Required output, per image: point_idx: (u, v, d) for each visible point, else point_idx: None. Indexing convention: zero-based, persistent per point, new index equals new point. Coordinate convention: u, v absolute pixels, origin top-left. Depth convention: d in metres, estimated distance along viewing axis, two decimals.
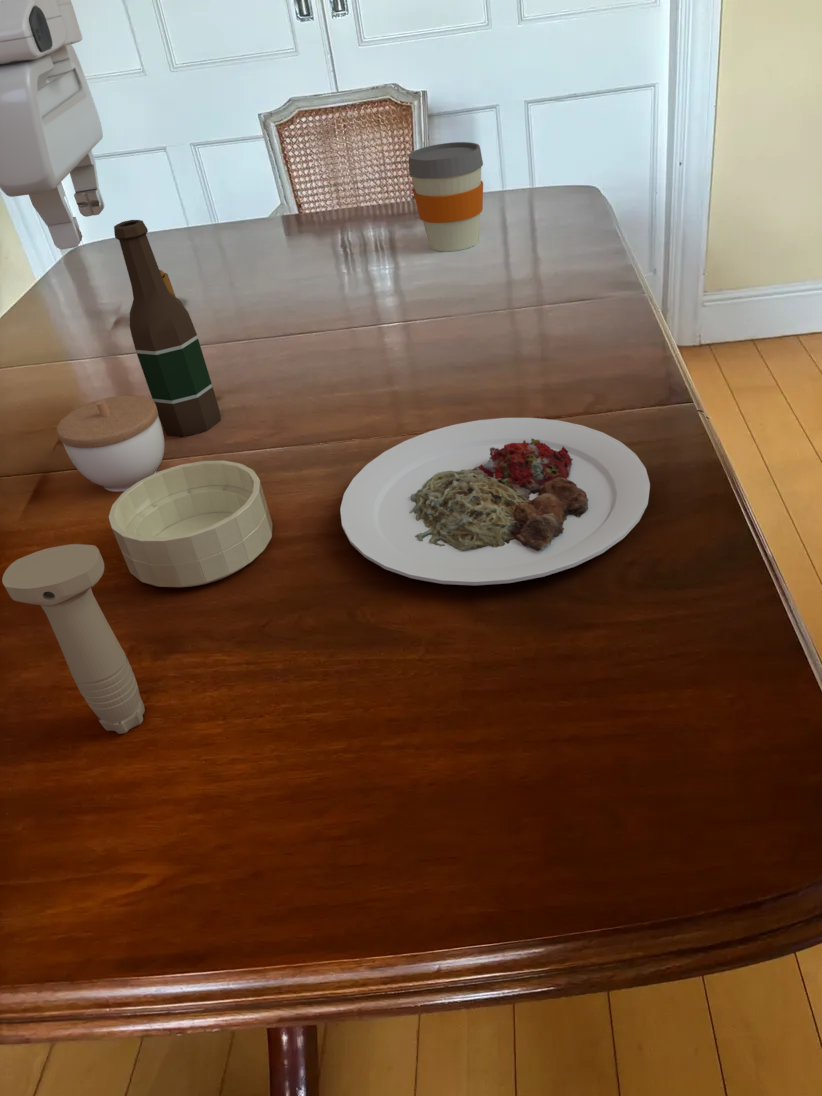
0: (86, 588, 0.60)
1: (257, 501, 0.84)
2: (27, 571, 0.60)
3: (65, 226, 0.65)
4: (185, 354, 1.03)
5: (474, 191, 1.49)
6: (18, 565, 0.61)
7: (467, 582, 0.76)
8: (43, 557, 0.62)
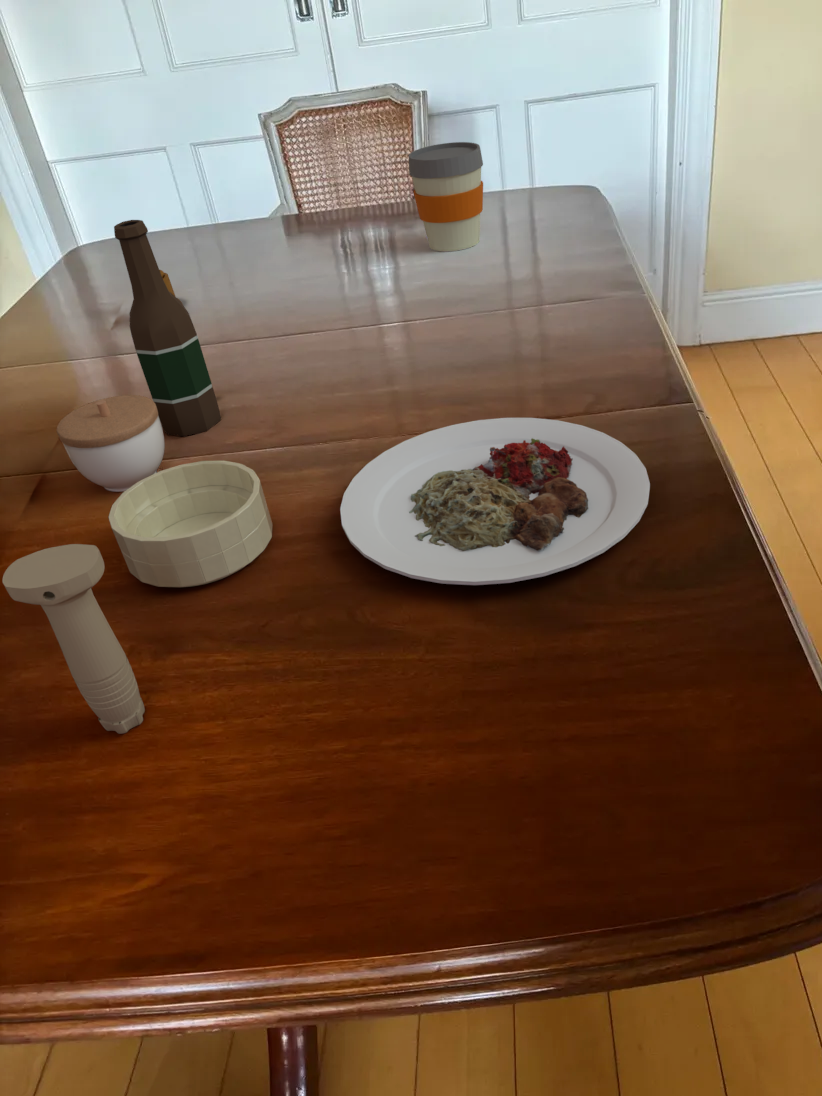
0: (86, 588, 0.60)
1: (257, 501, 0.84)
2: (27, 571, 0.60)
3: None
4: (185, 354, 1.03)
5: (474, 191, 1.49)
6: (18, 565, 0.61)
7: (467, 582, 0.76)
8: (43, 557, 0.62)
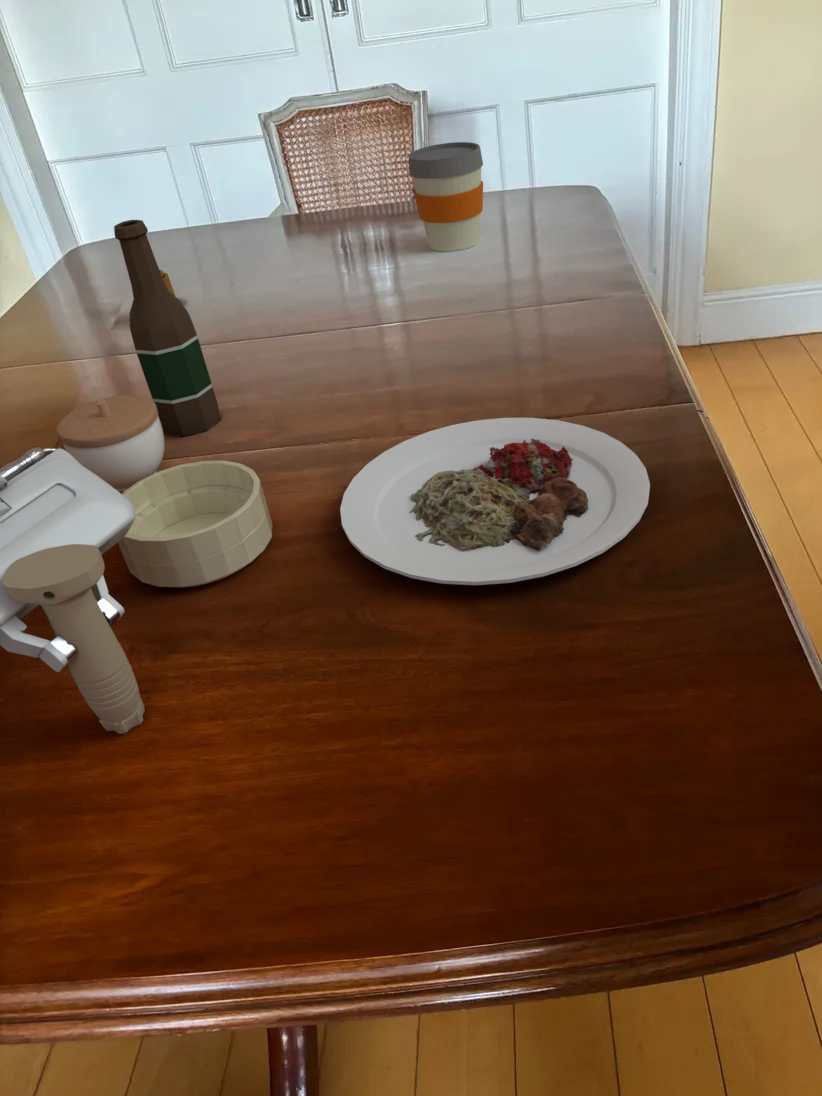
0: (86, 588, 0.60)
1: (257, 501, 0.84)
2: (27, 571, 0.60)
3: (45, 652, 0.62)
4: (185, 354, 1.03)
5: (474, 191, 1.49)
6: (18, 565, 0.61)
7: (467, 582, 0.76)
8: (43, 557, 0.62)
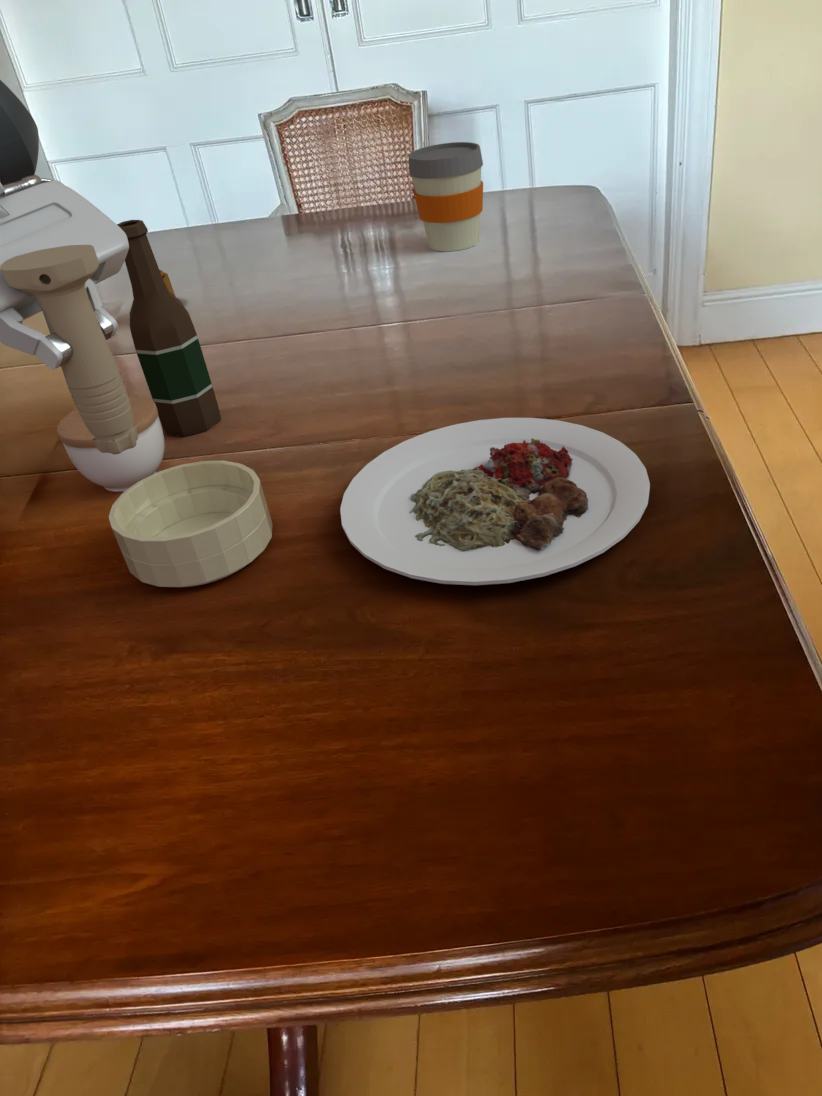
0: (81, 276, 0.62)
1: (257, 501, 0.84)
2: (24, 261, 0.63)
3: (41, 347, 0.64)
4: (185, 354, 1.03)
5: (474, 191, 1.49)
6: (16, 259, 0.63)
7: (467, 582, 0.76)
8: (40, 253, 0.64)
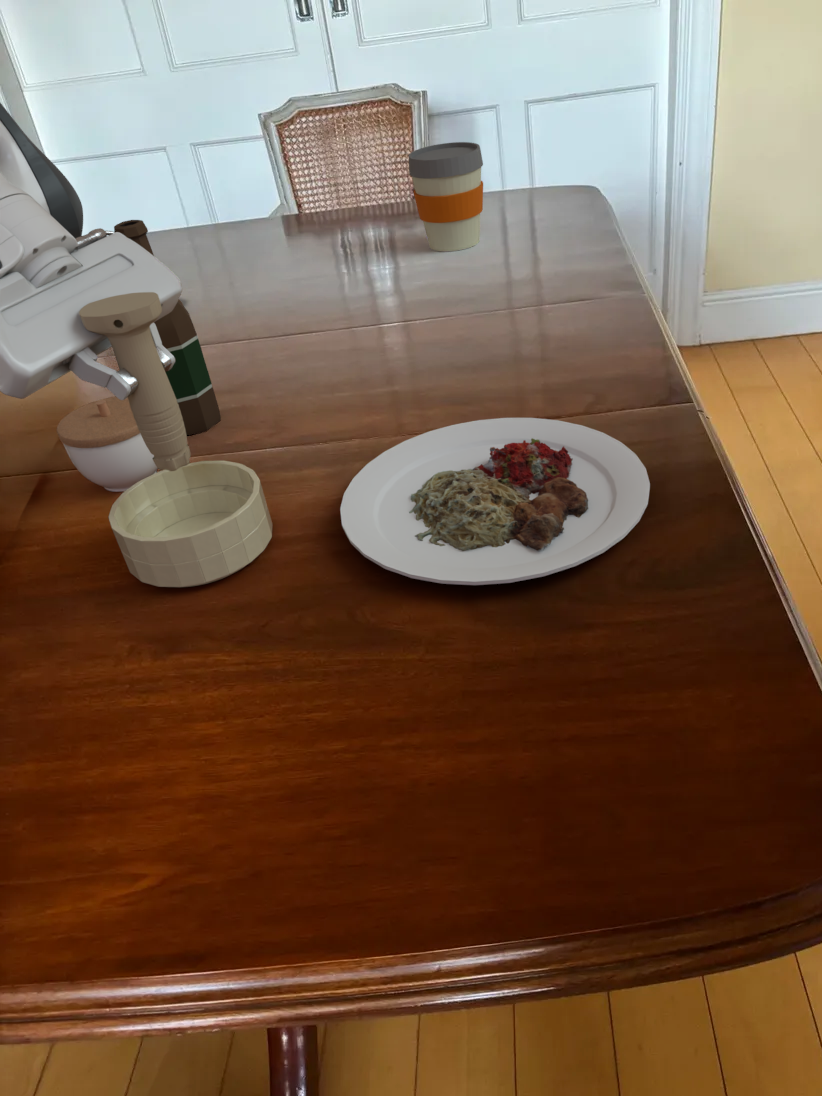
0: (148, 321, 0.73)
1: (257, 501, 0.84)
2: (99, 308, 0.73)
3: (112, 380, 0.75)
4: (185, 354, 1.03)
5: (474, 191, 1.49)
6: (91, 305, 0.74)
7: (467, 582, 0.76)
8: (111, 300, 0.74)
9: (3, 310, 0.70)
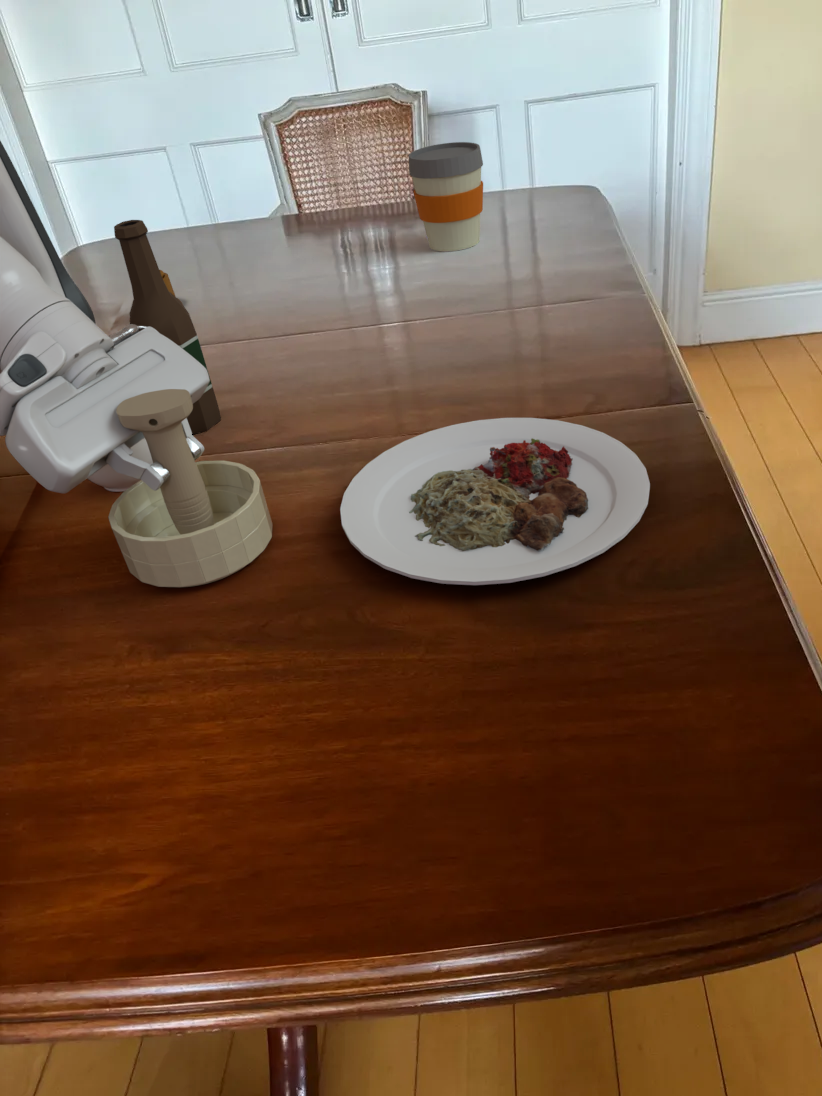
0: (181, 418, 0.78)
1: (257, 501, 0.84)
2: (135, 406, 0.78)
3: (146, 473, 0.80)
4: None
5: (474, 191, 1.49)
6: (127, 403, 0.79)
7: (467, 582, 0.76)
8: (145, 397, 0.80)
9: (47, 413, 0.76)
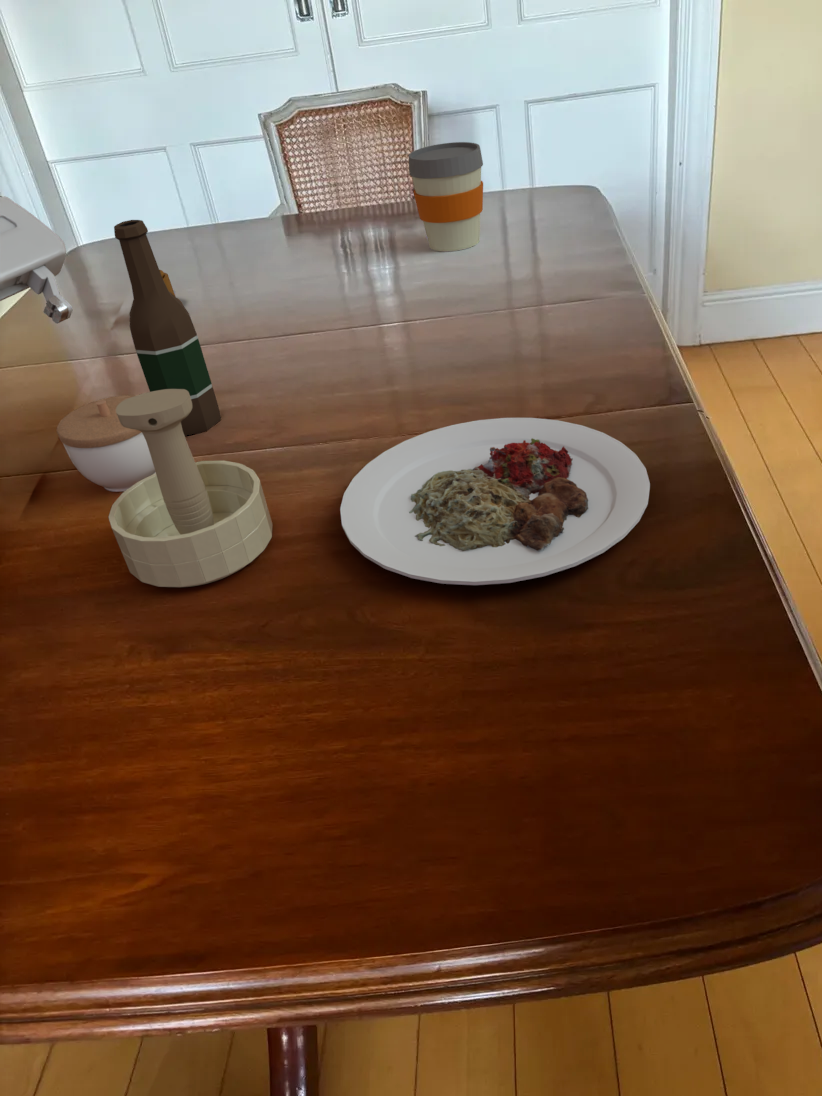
0: (180, 418, 0.78)
1: (257, 501, 0.84)
2: (134, 406, 0.78)
3: None
4: (185, 354, 1.03)
5: (474, 191, 1.49)
6: (126, 402, 0.79)
7: (467, 582, 0.76)
8: (145, 397, 0.80)
9: None
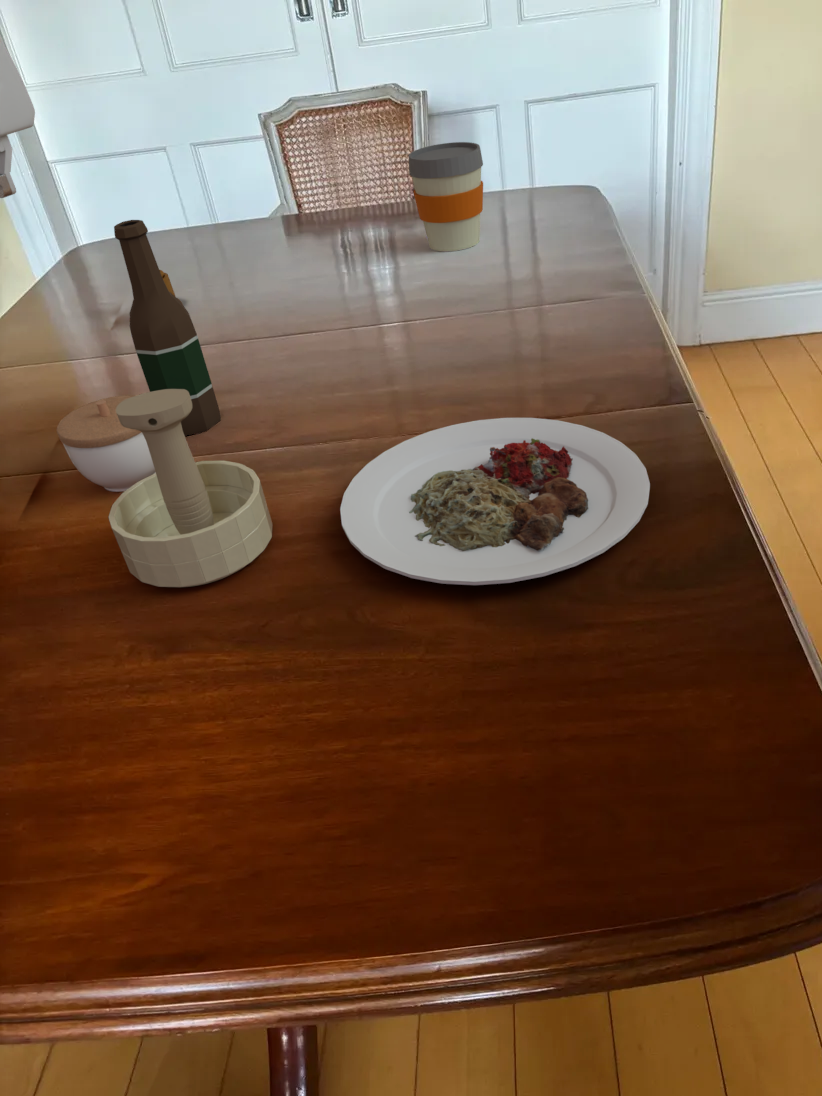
0: (180, 418, 0.78)
1: (257, 501, 0.84)
2: (134, 406, 0.78)
3: None
4: (185, 354, 1.03)
5: (474, 191, 1.49)
6: (126, 402, 0.79)
7: (467, 582, 0.76)
8: (145, 397, 0.80)
9: None
